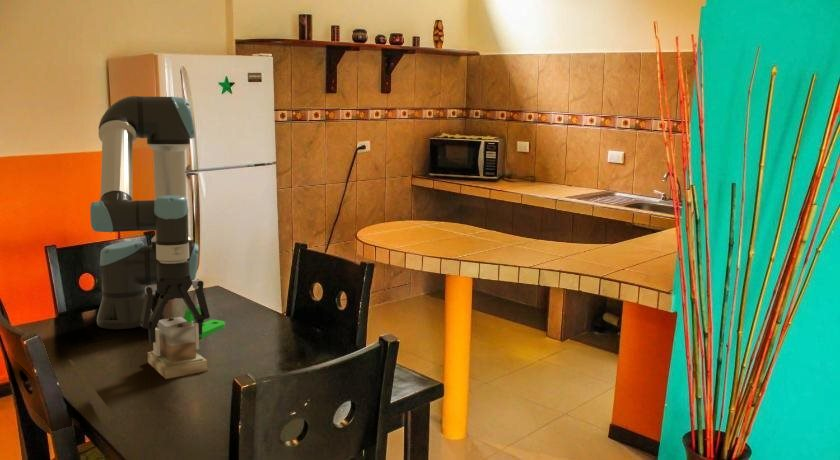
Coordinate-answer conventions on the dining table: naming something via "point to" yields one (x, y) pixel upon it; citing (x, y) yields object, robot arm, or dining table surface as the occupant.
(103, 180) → the robot arm
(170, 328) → the block
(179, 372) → the stand
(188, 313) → the mechanical part
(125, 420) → the dining table surface
